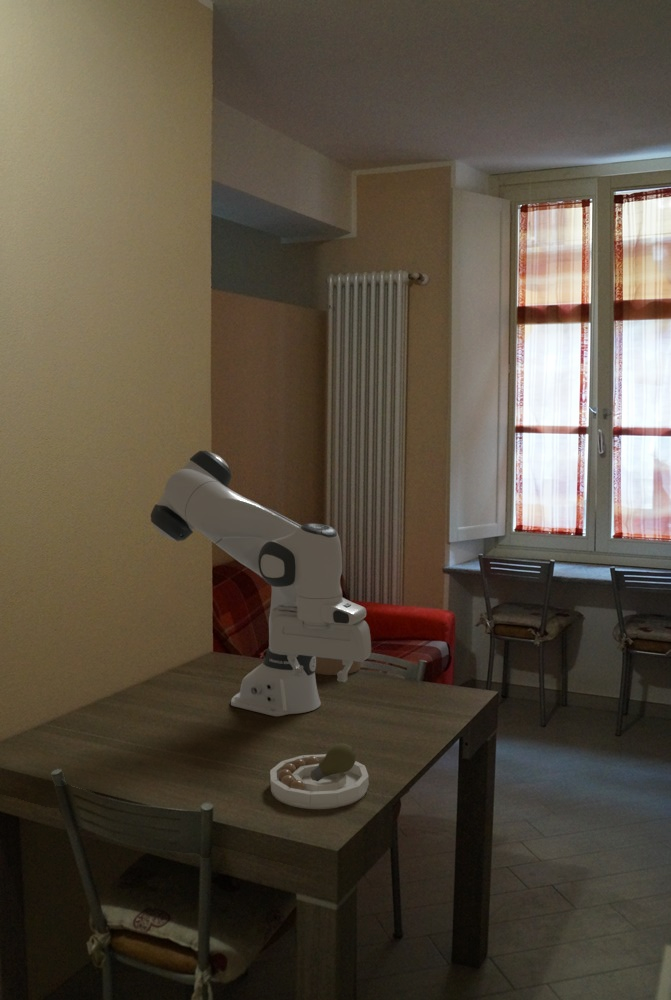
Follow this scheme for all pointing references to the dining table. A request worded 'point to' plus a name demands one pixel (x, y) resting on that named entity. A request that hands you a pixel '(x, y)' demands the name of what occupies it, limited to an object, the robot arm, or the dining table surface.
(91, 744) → the dining table surface
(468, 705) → the dining table surface
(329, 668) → the vase
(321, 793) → the bead tray
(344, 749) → the light bulb
